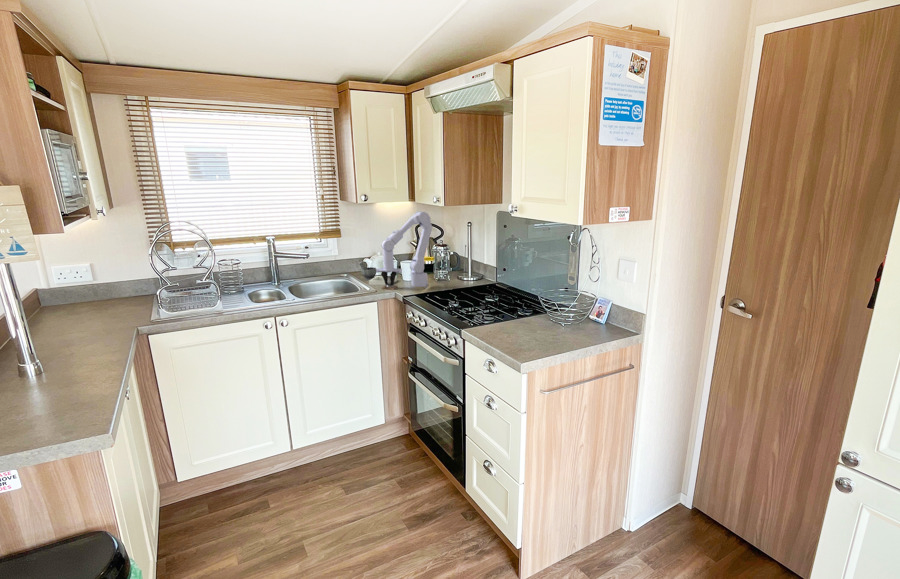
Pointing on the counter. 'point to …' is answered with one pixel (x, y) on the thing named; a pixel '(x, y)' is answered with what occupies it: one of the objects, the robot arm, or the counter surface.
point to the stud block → (390, 288)
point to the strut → (389, 282)
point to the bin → (376, 282)
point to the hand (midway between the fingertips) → (389, 284)
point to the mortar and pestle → (367, 271)
